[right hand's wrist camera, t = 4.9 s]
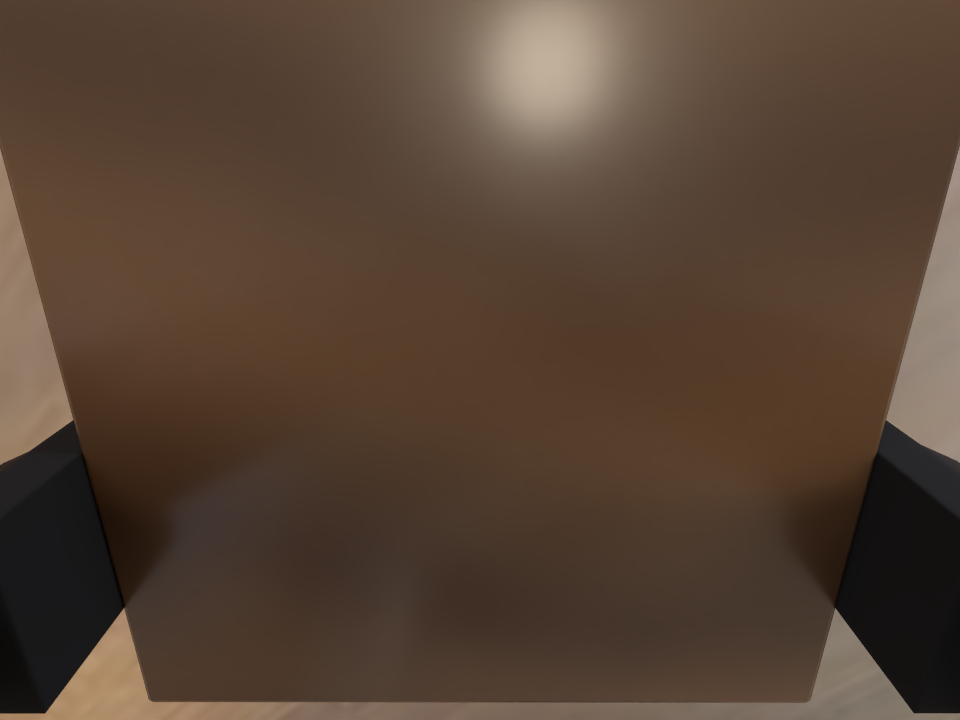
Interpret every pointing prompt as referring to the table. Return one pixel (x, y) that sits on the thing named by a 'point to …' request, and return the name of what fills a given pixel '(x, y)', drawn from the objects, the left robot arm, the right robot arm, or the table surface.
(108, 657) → the table surface
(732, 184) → the cabinet
